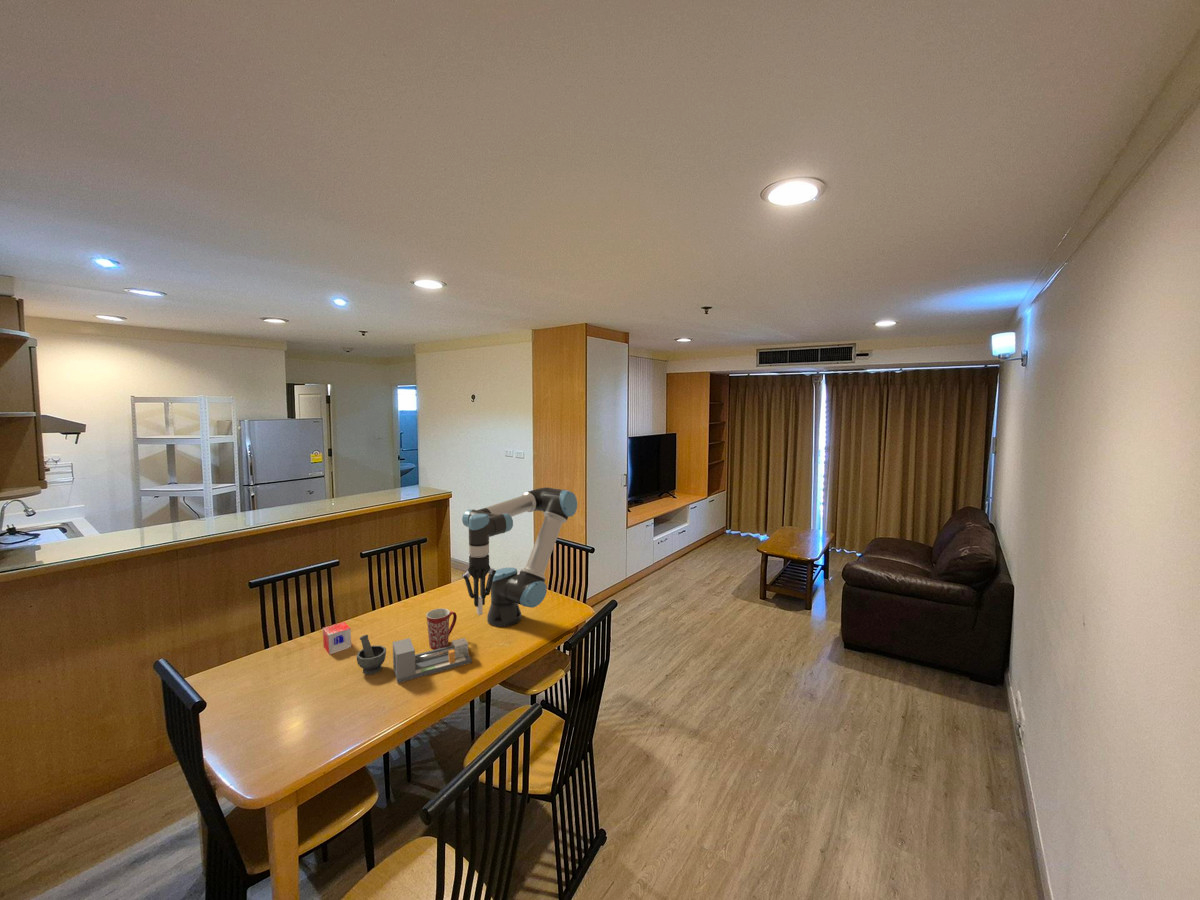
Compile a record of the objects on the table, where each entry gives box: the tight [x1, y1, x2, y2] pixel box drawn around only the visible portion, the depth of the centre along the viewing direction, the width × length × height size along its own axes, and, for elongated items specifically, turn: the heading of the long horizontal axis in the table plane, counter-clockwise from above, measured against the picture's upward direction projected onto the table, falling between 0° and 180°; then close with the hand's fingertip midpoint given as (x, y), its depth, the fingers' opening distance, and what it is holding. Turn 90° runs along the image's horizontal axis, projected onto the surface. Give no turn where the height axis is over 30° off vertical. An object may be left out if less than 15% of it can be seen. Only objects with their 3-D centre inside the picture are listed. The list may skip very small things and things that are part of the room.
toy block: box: [322, 621, 352, 655], centre depth 188 cm, size 8×8×8 cm
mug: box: [425, 608, 457, 650], centre depth 191 cm, size 13×9×14 cm
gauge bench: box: [392, 637, 472, 684], centre depth 175 cm, size 26×10×10 cm, turn 121°
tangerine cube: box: [448, 649, 455, 663], centre depth 175 cm, size 2×2×4 cm
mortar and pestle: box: [356, 634, 387, 676], centre depth 172 cm, size 11×9×12 cm
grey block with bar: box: [415, 637, 469, 662], centre depth 176 cm, size 20×7×5 cm, turn 121°
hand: (479, 613), depth 183 cm, fingers closed
